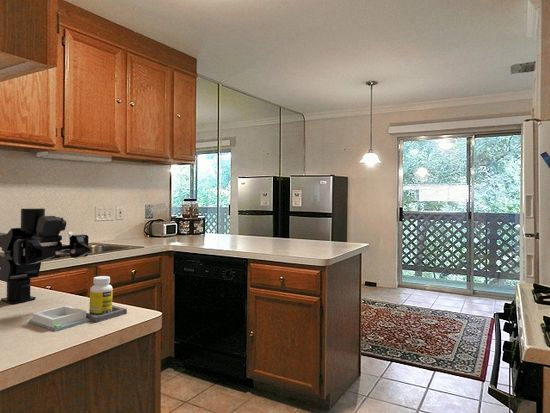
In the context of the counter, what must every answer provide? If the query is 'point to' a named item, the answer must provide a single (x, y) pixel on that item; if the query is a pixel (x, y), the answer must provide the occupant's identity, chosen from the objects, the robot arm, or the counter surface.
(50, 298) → the counter surface
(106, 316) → the holster cradle
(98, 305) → the supplement bottle
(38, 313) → the panel
